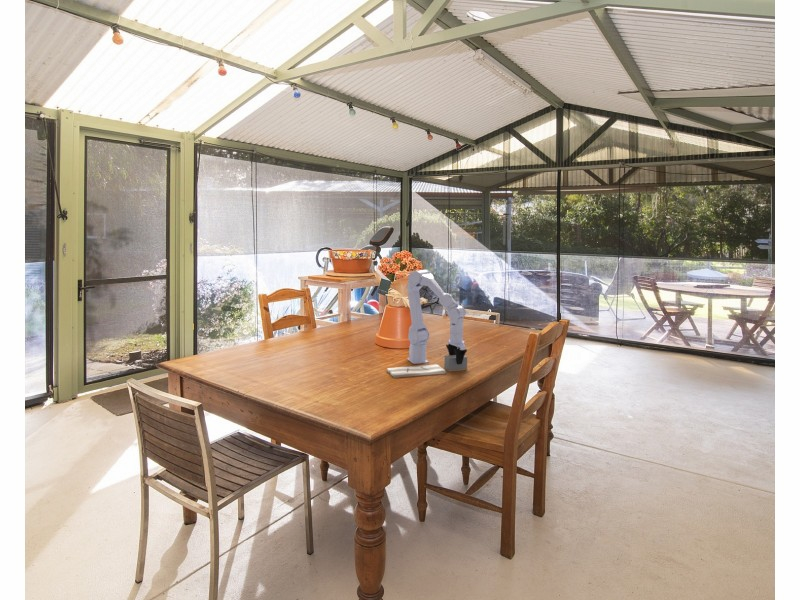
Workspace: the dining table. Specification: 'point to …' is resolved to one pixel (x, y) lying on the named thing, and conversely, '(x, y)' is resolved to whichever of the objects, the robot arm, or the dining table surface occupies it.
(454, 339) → the robot arm
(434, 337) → the dining table surface
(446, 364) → the block
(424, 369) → the cream flat panel
